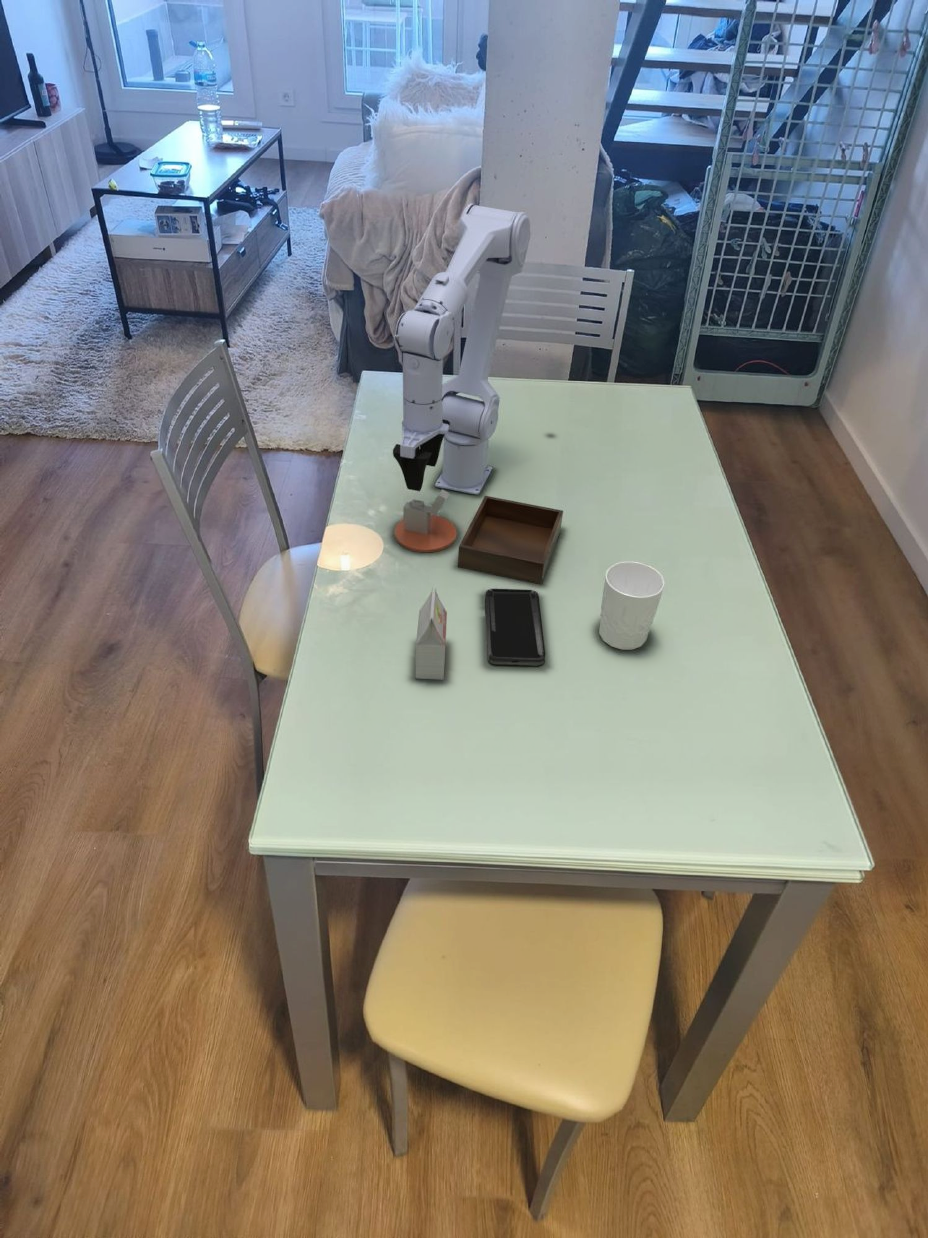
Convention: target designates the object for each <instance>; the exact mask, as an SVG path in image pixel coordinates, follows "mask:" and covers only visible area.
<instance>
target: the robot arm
mask: <svg viewBox="0 0 928 1238" xmlns="http://www.w3.org/2000/svg"><path fill="white" fill-rule="evenodd" d="M530 239H531V221H530V218H529V217H528V213H526V212H525V211H524V212H523V211H520V212H517V211H511V210H506V209H500V208H495V207H488V206H482V205H477V204H475V203H469V204H467V205H466V207H465V208H464V209H463V210H462V213H461V215H460V218H459V222H458V244H457V247H456V249H455V251H454V252H453V256H452V257H451V259H450V261H449V264H448V266H447V267H446V270H445V271H442V272H438V273H436V274H435V275H434V276H433V277H432V279H431V281H430V282H429V284H428V286H427V287H426V288H425V290H424V291H423V293H422V295H421V296H420V298H419V300H418V301H417V303H416V305H415V306H414V308H413V309H409V310H407V311H406V312H403V313H402V314H401V315H400V316H399V318H398V320H397V323H396V326H395V332H394V336H393V342H394V346H395V349H396V350H397V354H398V362H399V364H400V365H401V366H402V421H401V440H402V441H401V442H400V443H399V444H398V443H396V444H395V446H394V447H393V449H392V457H393V458H394V459H395V460H396V462H397V463H398V465H399V467H400V470H401V472H402V475H403V479H404V482H405V486H406V489H407V490H411V491H415V492H421V490H422V488H423V484H424V479H425V472H426V468H427V466H428V467H436V466H437V463H438V459H439V456H440V452H441V448H442V444H443V449H442V450H443V451H442V452H443V453H442V472H441V473H440V476H439V477H438V479H437V480H436V481H435V484H434V487H436V488H440V489H443V490H448V491H449V490H451V491H455V492H461V493H465V494H471V495H475V496H478V495H480V494H481V491H482V489H483V488H484V486H485V483H486V482H487V480H488V477H489V476H490V474H491V472H492V469H493V468H492V466H489V465H488V453H489V439H491V438H492V437H493V435H494V433H495V431H496V429H497V425H498V422H499V409H500V408H499V407H500V402H501V401H500V396H499V394H498V392H497V391H496V390H495V388H494V387H493V386H492V384H491V383H490V382H489V377H490V376H489V375H490V372H491V366H492V362H493V357H494V353H495V350H496V344H497V340H498V335H499V332H500V328H501V327H500V326H501V323H502V319H503V313H504V310H505V304H506V300H507V296H508V291H509V289H510V285H511V281H512V277H513V276H516V275H518V274H521V273H522V271H523V267H524V264H525V262H526V257H527V252H528V249H529V245H530ZM477 273H478V274H479V280H478V283H477V288H476V292H475V297H474V301H473V307H472V312H471V316H470V320H469V325H468V329H467V334H466V339H465V344H464V348H463V352H462V358H461V362H460V367H459V371H458V375H456V376H455V377H452V378H451V379H449V380H447V381H445V382H444V383H443V378H444V377H443V376H444V375H443V374H444V357H445V356H446V354H447V353H448V351H449V348H450V345H451V341H452V336H453V335H454V331H455V325H454V324H455V322H456V320H457V319H458V317H459V315H460V313H461V312H462V310H463V309H464V307H465V305H466V304H467V302H468V299H469V290H468V285H469V284H470V283H471V282H472V280H473V279H474V278H475V276H476V274H477ZM460 394H463V395H468V396H471V397H477V398H479V399H481V400H479V399H474V398H471V397H468V396H467V397H466V396H462V395H460Z"/></svg>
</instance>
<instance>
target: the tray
mask: <svg viewBox="0 0 928 1238" xmlns="http://www.w3.org/2000/svg"><path fill="white" fill-rule="evenodd" d="M563 515H564V510H563V509H557V508H552V507H546V506H541V505H535V504H531V503H525V502H521V501H515V500H510V499H505V498H499V497H494V496H489V495H484V497H483V498H482V501H481V502H480V504H479V506H478V508H477V510H476V512H475V514H474V516H473V518H472V520H471V522H470V523H469V525H468V528H467V530H466V532H465V534H464V536H463V537H462V539H461V541H460V543H459V546H458V557H457V567H458V568H462V569H468V570H472V571H476V572H481V573H485V574H491V575H495V576H500V577H505V578H510V579H514V580H519V581H524V582H527V583H534V584H539V585H542V583H543V580H544V578H545V575H546V571H547V569H548V566H549V564H550V561H551V558H552V556H553V553H554V550H555V547H556V544H557V541H558V539H559V536H560V533H561V531H562V523H563Z"/></svg>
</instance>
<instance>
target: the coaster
mask: <svg viewBox="0 0 928 1238" xmlns="http://www.w3.org/2000/svg"><path fill="white" fill-rule="evenodd" d="M457 533H458V531H457V528H456V526H455V525H454V523H453V522H451V521H450V520H449V519H447V518H445V517H442V516H440V515H436V516H434V515H433V514H431V530H430V531H429V533H428V534H427V535H426V534H421V533H417V532H412V531H407V530H404V518H403V519H401V520H400V521H399V522H398V523H397V524H396V525H395V527H394V538H395V540H396V541H397V543H398V544H399V545H401V546H402V547H403V548H405V549H407V550H409V551H413V552H418V553H436V552H441V551H443V550H445V549H448V548H449V547H451V546H452V545H453V544H454V543H455V541H456V539H457Z"/></svg>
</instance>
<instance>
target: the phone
mask: <svg viewBox="0 0 928 1238" xmlns="http://www.w3.org/2000/svg"><path fill="white" fill-rule="evenodd" d="M484 597H485V599H484V603H485V604H484V614H485V628H486V651H487V652H486V654H487V661H488V662H489V663H490V664H492V665H494V666H495V665H496V666H498V665H499V666H525V667H526V666H527V667H528V666H530V667H532V666H533V667H540V666H541V665H543V664H544V663H545V661H546V648H545V646H546V645H545V638H544V630H543V621H542V620H543V619H542V613H541V604H540V595H539V593H538V592H537V591H536V590H534V589H520V588H519V589H516V588H515V589H514V588H489V589H487V590H486V591H485V595H484Z"/></svg>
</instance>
